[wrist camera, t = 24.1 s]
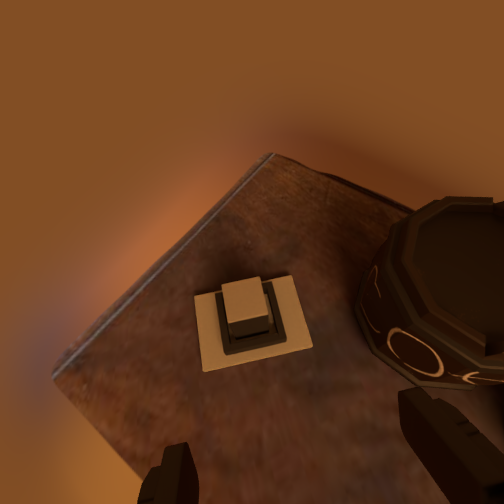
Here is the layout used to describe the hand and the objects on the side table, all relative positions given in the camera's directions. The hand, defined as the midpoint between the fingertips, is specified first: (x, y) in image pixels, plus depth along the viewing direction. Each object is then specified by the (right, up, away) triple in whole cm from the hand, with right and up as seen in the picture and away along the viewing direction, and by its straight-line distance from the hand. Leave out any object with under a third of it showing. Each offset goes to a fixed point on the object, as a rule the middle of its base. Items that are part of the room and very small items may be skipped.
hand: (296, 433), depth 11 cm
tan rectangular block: (-2, -2, +28) cm, 28 cm away
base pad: (-2, -3, +29) cm, 30 cm away
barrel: (+21, -3, +28) cm, 35 cm away
